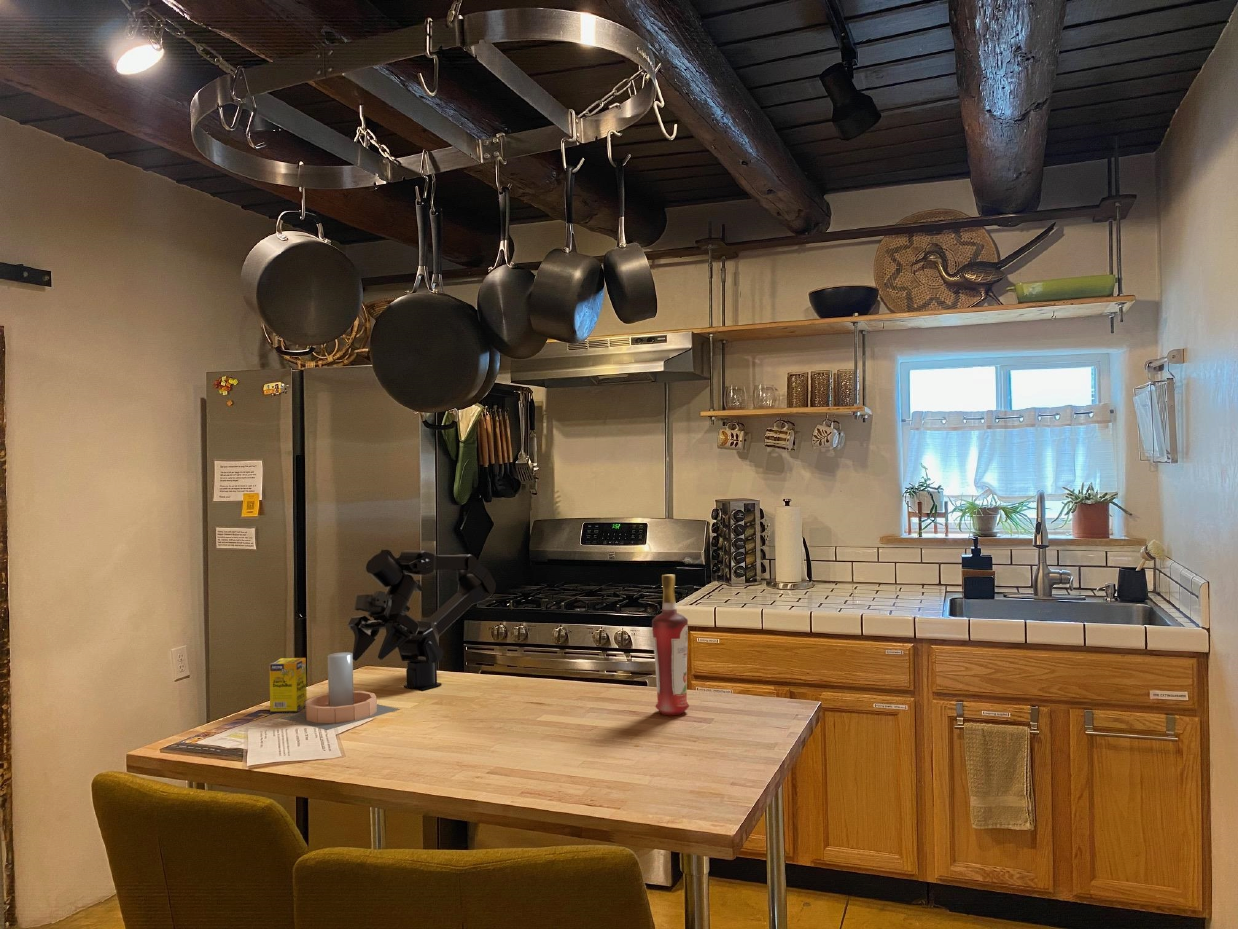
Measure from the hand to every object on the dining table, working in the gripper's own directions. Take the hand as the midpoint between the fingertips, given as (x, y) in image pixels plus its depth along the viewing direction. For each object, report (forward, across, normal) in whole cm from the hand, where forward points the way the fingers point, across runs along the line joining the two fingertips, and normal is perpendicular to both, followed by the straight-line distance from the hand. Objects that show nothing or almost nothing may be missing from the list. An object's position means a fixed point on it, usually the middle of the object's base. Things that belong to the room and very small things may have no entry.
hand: (366, 659), depth 199 cm
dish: (+13, +1, 0) cm, 13 cm away
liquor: (-5, +58, +35) cm, 68 cm away
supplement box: (+15, -12, -4) cm, 19 cm away
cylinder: (+12, +1, -1) cm, 12 cm away
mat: (+13, +1, 0) cm, 13 cm away
